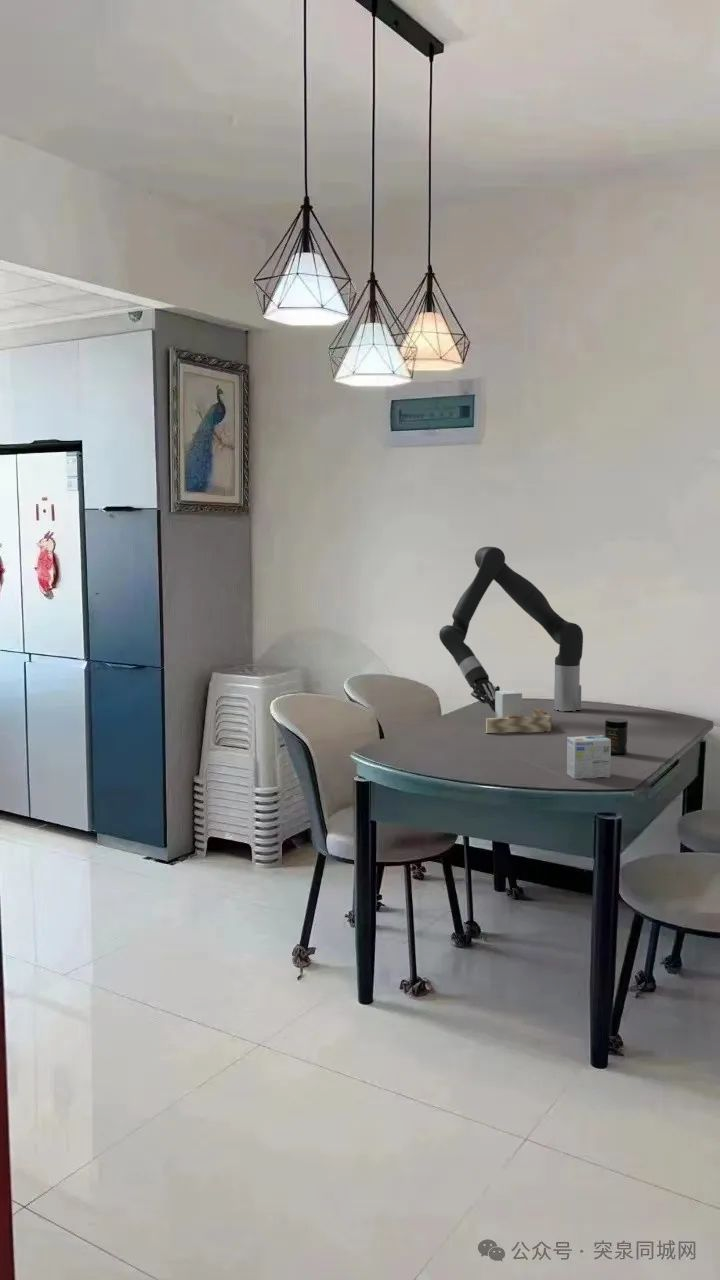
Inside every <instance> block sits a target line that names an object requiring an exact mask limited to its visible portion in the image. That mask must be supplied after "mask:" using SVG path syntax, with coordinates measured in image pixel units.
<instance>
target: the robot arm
mask: <svg viewBox="0 0 720 1280" xmlns="http://www.w3.org/2000/svg"><path fill="white" fill-rule="evenodd" d="M474 563H475V565H476V566H477V568H478V571H477V572H476V574H475V577H474V579H473V580H472V582H471V583H470V585H469V586H468V587H467V588H466V589H465V591H464V592H463V593H462V595H461V596H460V598H459V600H458V602H457V604H456V606H455V608H454V610H453V612H452V615H451V617H452V619H453V622H452V625H450V624H447V625H444V626H442V627H441V629H440V630H439V633H438V635H439V637H438V638H439V639H440V642H441V643H442V645H443V647H445V649H446V651H448V652H449V653H450V655H451V656H452V658H453V659H454V661H455V663H456V664H457V667H458V668H459V670H460V671H461V673H462V676H463V677H464V679H465V681H466V683H467V684H468V685H469V688H471V689H472V691H471V693H470V695H471V697H473V698H475V699H476V700H478V701H479V702H481V703H482V704H483V705H484V704H487V705H488V707H490V709H491V711H492V712H494V713H495V691H501V689H500V688H501V687H500V686H499V685H497V686H495V685H494V684H493V683H492V682H491V681H490V677H489V674H488V673H487V670H485V667H484V666H483V665H482V663H481V662H480V660H479V659H478V657H476V654H475V653H474V652H473V650H472V649H471V648H470V646H469V645H467V644H466V643H465V640H466V637H467V634H468V631H469V627H470V622H471V620H472V618H473V617H474V614H475V613H476V610H477V609H478V606H479V605H480V603H481V600H482V599H483V597H484V595H485V593H486V592H487V590H488V589H489V587H490V585H491V584H492V582H493V581H495V582H496V583H497V584H498V585H499V586H500V587H501V588H502V590H504V591H505V593H506V594H507V595H508V596H509V597H510V598H511V600H513V601H514V602H515V603H516V604H517V605H518V606H519V607H520V609H522V610H523V611H524V612H525V613H526V614H527V615H529V617H530V618H532V619H533V620H535V621H536V622H537V623H538V624H539V625H540V626H541V627H542V628H543V630H545V631H546V632H547V634H548V635H549V636H550V637H551V639H552V640H553V641H554V642H555V643H556V644H557V645H559V648H558V649H559V650H558V654H557V656H555V659H554V688H553V689H554V692H553V693H554V695H553V696H554V698H553V701H554V702H553V709H555V710H554V711H557V710H559V711H558V712H564V711H573V712H577V711H576V710H582V685H581V684H580V680H581V679H580V678H581V677H580V674H581V673H580V672H581V660H582V656H583V647H584V632H583V629H582V628H581V626H580V625H578V623H577V624H576V623H575V622H569V621H568V620H565V619H564V618H563V617H561V615H560V614H558V613H557V612H556V611H555V610H554V609H553V608H552V607H551V605H550V603H549V601H548V599H547V598H546V596H545V595H544V594H543V592H541V590H539V588H538V587H537V586H535V584H534V583H532V582H531V581H530V580H528V579H527V578H525V577H524V576H522V575H521V574H519V573H518V572H516V571H515V570H513V569H512V568H511V567H510V566H509V565H508V564H507V563H506V556H505V553H504V551H503V550H502V549H501V548H498V547H497V546H483V547H481V548H478V550H477V551H476V553H475V554H474Z"/></svg>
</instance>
